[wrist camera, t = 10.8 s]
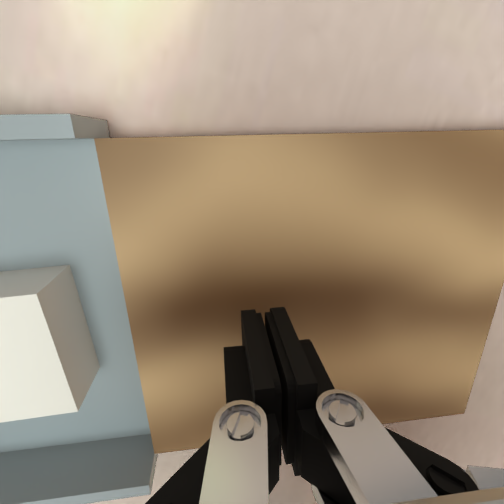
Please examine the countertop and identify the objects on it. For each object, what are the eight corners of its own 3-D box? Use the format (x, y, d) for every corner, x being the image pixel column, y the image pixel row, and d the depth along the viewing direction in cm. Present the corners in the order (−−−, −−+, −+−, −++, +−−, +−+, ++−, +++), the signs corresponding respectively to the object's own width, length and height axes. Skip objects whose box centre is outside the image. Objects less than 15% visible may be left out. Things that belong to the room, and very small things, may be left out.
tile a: (99, 367, 14) (78, 411, 11) (-20, 382, 13) (-68, 432, 11) (69, 265, 12) (36, 293, 10) (-70, 278, 11) (-139, 312, 9)
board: (442, 390, 18) (464, 413, 16) (159, 424, 16) (154, 453, 14) (509, 130, 13) (549, 128, 11) (109, 138, 11) (93, 138, 9)
